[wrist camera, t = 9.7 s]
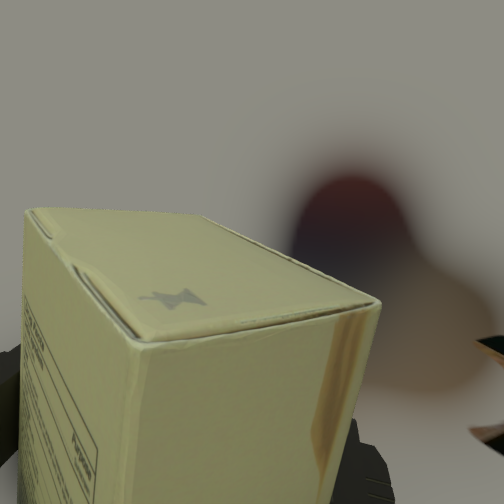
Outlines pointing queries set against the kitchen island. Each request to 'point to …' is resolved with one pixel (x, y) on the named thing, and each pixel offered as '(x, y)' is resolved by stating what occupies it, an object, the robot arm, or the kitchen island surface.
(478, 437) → the kitchen island surface
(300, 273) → the skincare box
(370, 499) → the robot arm
